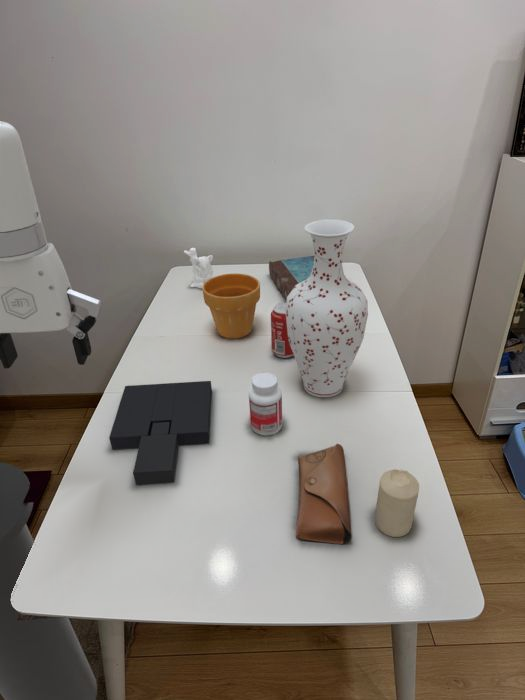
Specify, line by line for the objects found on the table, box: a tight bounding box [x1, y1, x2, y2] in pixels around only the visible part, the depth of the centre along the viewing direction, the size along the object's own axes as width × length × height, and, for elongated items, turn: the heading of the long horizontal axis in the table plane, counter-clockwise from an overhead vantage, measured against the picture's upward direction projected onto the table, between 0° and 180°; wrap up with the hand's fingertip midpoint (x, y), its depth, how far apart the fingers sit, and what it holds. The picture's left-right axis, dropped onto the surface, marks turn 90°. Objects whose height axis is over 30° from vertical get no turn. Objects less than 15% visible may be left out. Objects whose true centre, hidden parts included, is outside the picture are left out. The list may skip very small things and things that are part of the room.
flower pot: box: [201, 272, 261, 339], centre depth 123 cm, size 14×14×13 cm
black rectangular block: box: [132, 422, 180, 486], centre depth 87 cm, size 6×12×3 cm, turn 3°
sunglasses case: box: [295, 443, 353, 545], centre depth 79 cm, size 18×7×7 cm
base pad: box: [108, 380, 213, 451], centre depth 97 cm, size 18×16×3 cm
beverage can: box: [270, 302, 294, 359], centre depth 113 cm, size 6×6×12 cm
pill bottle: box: [248, 372, 283, 436], centre depth 92 cm, size 6×6×11 cm
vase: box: [285, 218, 369, 398], centre depth 96 cm, size 16×16×35 cm
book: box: [268, 255, 315, 301], centre depth 146 cm, size 23×18×5 cm
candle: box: [374, 468, 420, 538], centre depth 72 cm, size 6×6×10 cm
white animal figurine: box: [183, 247, 214, 290], centre depth 147 cm, size 8×7×12 cm
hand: (47, 361), depth 66 cm, fingers open, 9 cm apart
